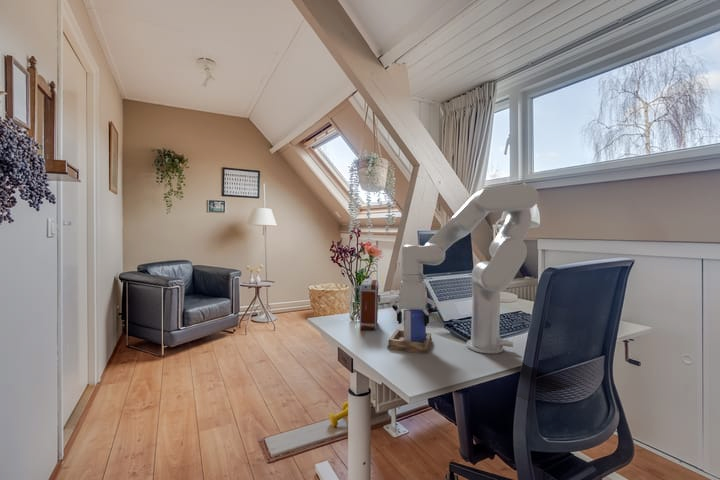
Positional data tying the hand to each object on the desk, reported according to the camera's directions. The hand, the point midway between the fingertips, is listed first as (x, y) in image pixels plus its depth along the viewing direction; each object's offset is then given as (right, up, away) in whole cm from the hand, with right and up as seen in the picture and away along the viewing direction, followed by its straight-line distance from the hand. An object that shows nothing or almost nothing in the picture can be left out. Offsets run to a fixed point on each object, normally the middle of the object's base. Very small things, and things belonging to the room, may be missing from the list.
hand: (412, 324), depth 124 cm
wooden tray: (-1, -8, 0) cm, 8 cm away
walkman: (+1, -7, 0) cm, 7 cm away
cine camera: (-15, -7, +26) cm, 31 cm away
